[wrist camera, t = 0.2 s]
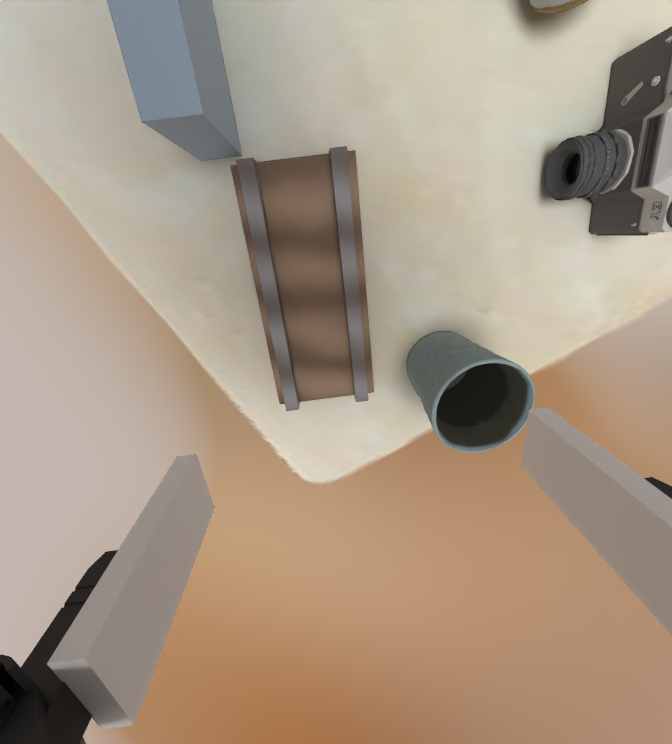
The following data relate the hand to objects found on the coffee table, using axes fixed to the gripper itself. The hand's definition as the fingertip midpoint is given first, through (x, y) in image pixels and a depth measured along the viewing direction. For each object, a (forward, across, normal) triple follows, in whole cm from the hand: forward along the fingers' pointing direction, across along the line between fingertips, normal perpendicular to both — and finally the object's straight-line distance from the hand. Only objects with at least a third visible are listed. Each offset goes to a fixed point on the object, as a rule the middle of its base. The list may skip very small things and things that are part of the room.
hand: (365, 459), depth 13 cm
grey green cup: (+28, +13, -9) cm, 32 cm away
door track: (+28, -2, +2) cm, 28 cm away
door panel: (+28, -9, +22) cm, 37 cm away
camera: (+28, +28, +12) cm, 42 cm away
